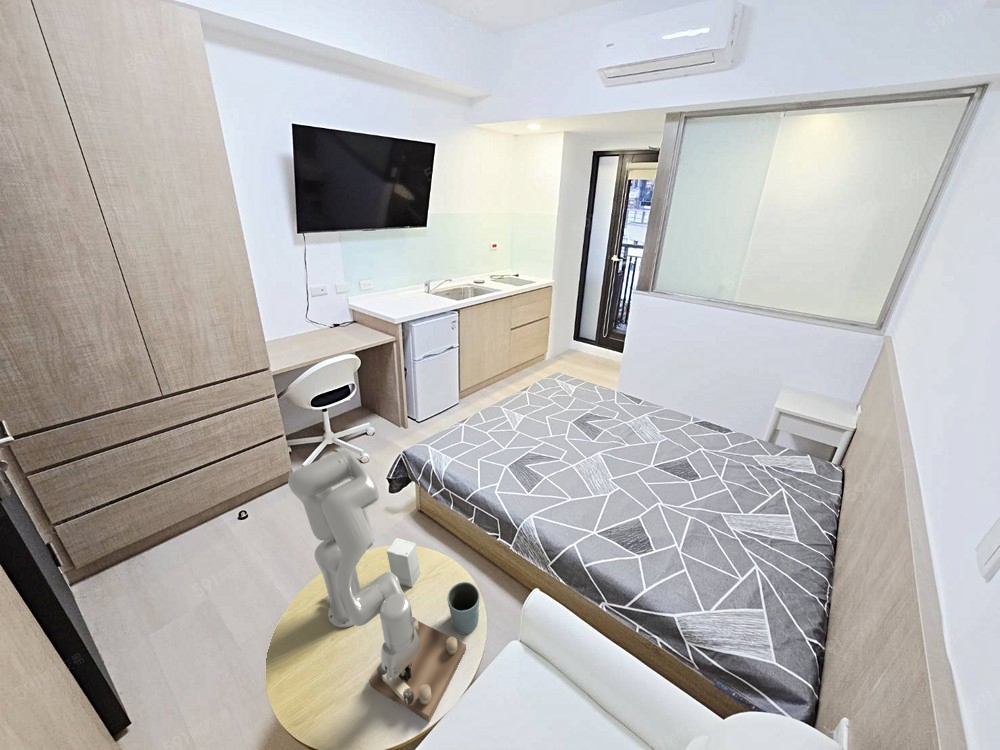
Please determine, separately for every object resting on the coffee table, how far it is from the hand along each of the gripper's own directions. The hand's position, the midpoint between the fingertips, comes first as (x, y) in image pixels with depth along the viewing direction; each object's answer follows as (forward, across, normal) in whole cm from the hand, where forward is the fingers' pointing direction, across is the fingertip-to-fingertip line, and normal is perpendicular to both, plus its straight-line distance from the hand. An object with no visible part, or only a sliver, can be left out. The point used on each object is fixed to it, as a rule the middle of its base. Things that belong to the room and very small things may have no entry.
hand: (405, 676), depth 113 cm
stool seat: (+4, -5, 0) cm, 7 cm away
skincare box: (+5, -23, -27) cm, 36 cm away
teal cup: (+4, -24, 0) cm, 24 cm away
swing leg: (+1, +3, -1) cm, 3 cm away
